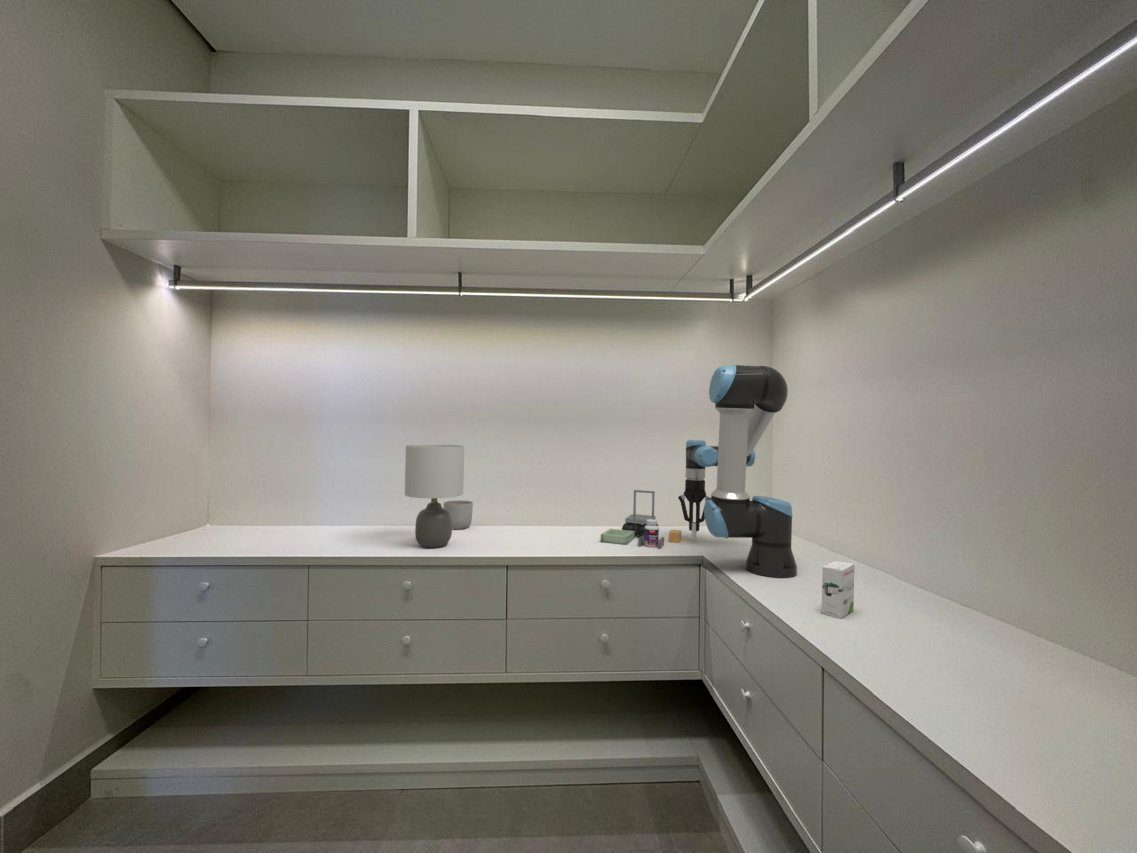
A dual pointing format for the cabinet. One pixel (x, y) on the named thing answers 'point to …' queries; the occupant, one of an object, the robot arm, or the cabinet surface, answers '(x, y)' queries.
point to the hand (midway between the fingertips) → (693, 539)
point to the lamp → (434, 488)
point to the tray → (617, 536)
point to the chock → (675, 536)
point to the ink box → (838, 589)
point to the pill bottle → (651, 533)
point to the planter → (459, 513)
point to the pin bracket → (660, 542)
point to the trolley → (638, 517)
